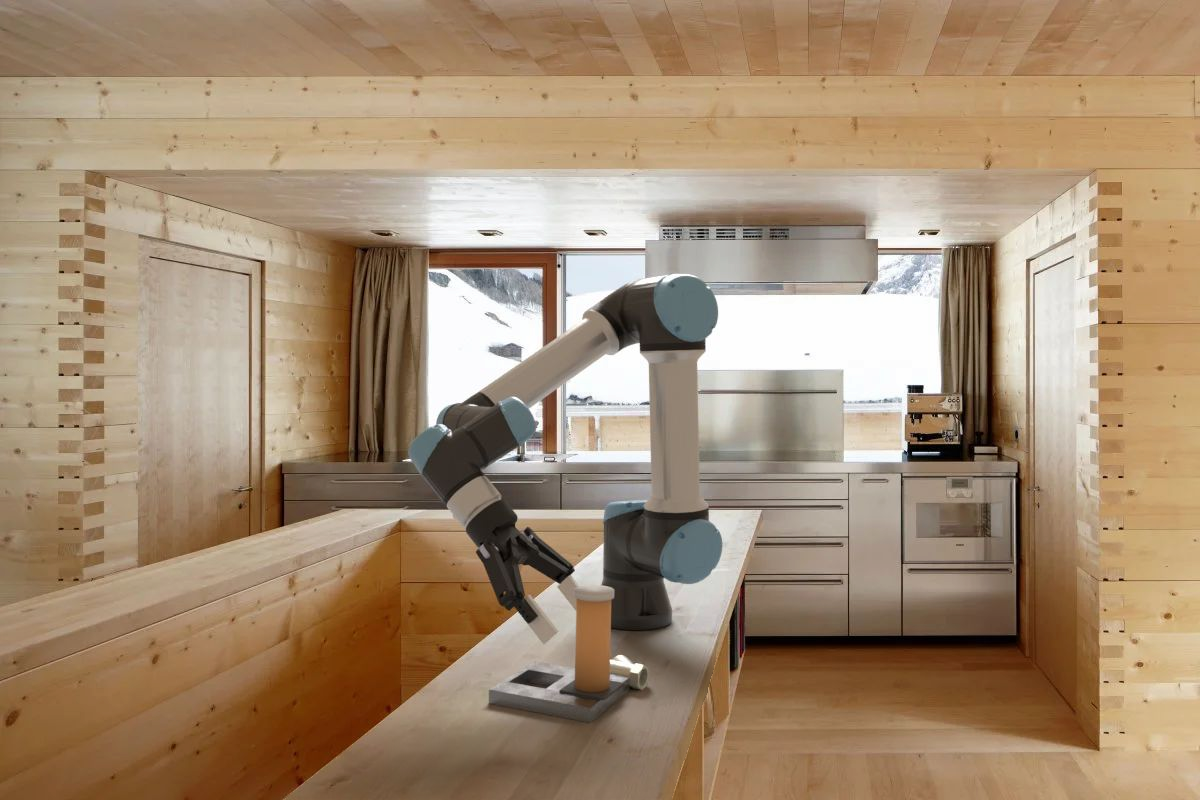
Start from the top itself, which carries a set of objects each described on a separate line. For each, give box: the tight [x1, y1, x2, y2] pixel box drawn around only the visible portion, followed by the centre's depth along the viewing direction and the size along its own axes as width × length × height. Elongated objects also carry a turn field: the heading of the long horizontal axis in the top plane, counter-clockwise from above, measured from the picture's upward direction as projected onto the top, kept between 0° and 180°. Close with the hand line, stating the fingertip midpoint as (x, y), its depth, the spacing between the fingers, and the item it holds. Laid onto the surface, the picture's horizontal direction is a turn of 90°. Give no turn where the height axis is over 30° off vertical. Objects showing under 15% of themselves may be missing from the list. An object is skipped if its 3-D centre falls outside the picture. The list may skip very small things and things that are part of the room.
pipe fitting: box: [610, 654, 650, 691], centre depth 141 cm, size 8×4×7 cm
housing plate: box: [488, 661, 631, 723], centre depth 134 cm, size 14×16×2 cm
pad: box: [559, 680, 624, 700], centre depth 131 cm, size 7×7×1 cm
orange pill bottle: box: [574, 584, 614, 692], centre depth 131 cm, size 6×6×14 cm
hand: (572, 625), depth 132 cm, fingers open, 13 cm apart
